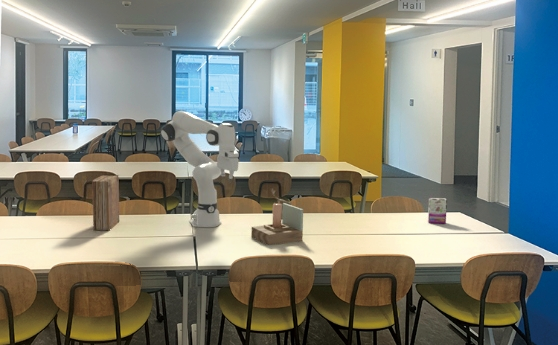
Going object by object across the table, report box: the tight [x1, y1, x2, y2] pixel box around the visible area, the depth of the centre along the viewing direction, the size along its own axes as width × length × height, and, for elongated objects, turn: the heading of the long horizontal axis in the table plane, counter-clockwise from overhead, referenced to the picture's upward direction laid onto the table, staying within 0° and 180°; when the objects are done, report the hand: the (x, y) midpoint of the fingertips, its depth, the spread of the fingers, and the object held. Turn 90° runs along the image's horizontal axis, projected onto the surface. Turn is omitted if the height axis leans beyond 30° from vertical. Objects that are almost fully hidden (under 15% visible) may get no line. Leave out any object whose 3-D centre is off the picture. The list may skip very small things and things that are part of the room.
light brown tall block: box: [272, 203, 282, 228], centre depth 311 cm, size 5×5×14 cm
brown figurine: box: [271, 187, 292, 221], centre depth 337 cm, size 11×13×25 cm
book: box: [91, 174, 120, 232], centre depth 333 cm, size 25×9×30 cm, turn 3°
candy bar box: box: [427, 197, 448, 225], centre depth 362 cm, size 11×5×16 cm, turn 81°
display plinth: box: [250, 203, 304, 246], centre depth 312 cm, size 20×22×18 cm
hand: (227, 177), depth 306 cm, fingers open, 8 cm apart
